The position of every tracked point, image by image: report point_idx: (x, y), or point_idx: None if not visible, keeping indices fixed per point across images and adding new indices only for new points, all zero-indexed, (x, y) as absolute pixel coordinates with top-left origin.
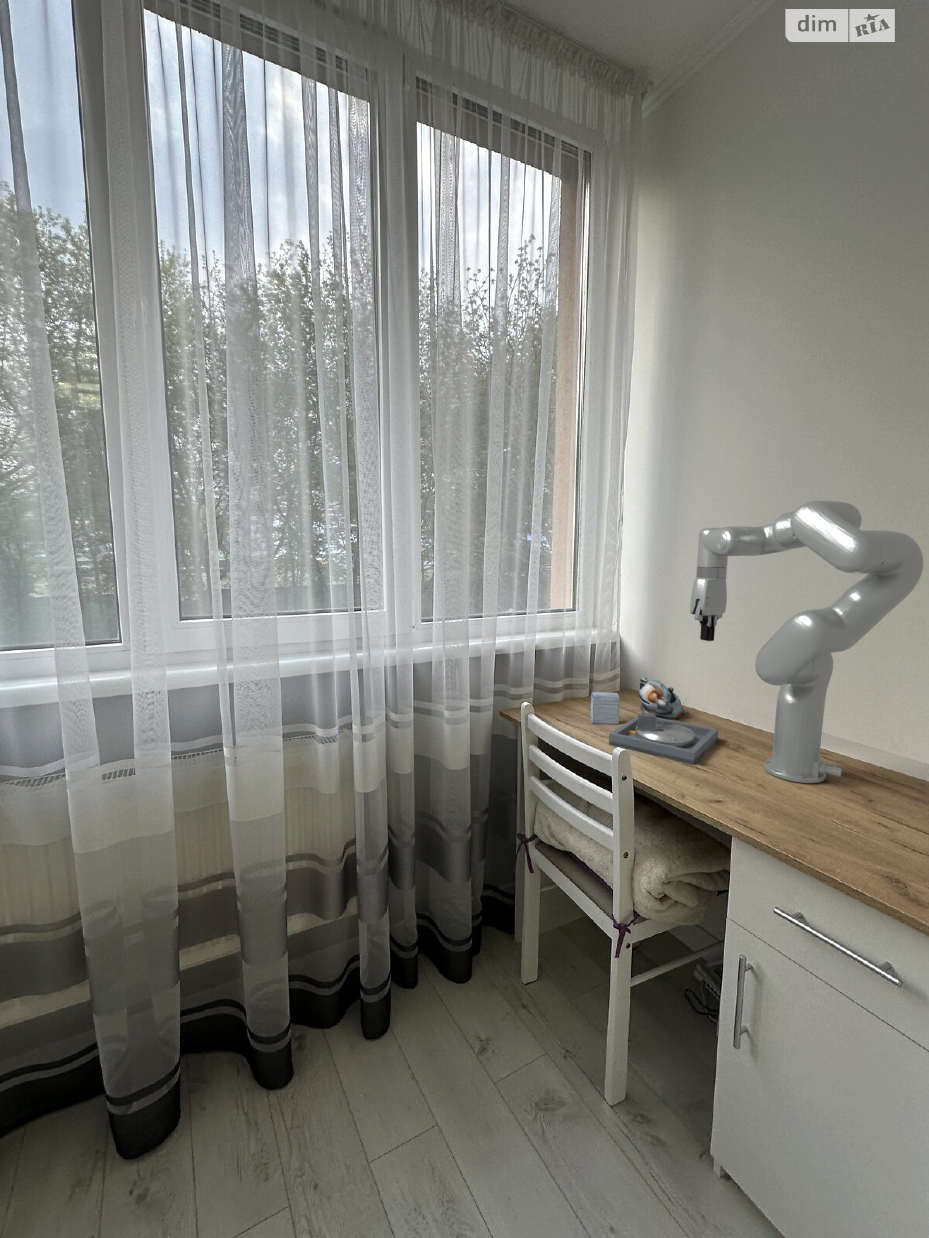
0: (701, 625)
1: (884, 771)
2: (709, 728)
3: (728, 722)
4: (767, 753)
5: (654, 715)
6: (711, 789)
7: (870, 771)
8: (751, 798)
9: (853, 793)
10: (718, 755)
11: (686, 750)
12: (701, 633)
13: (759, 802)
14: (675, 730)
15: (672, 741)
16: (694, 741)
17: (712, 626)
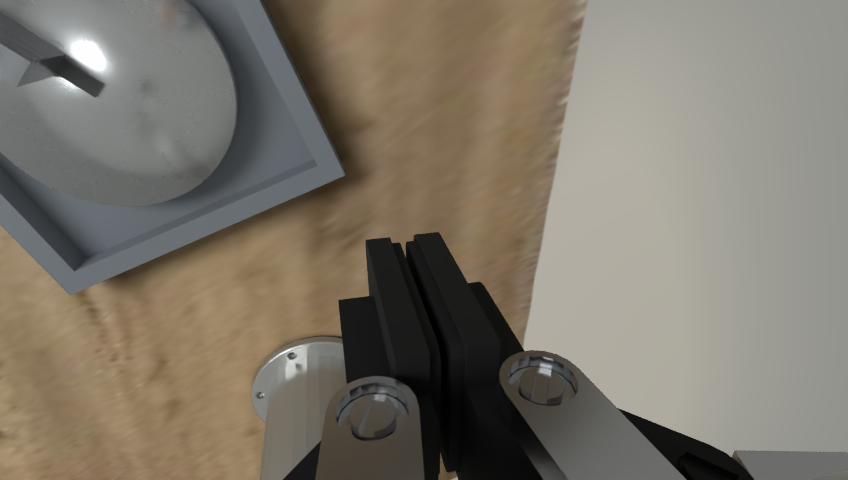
0: (343, 410)
1: None
2: (324, 153)
3: (545, 55)
4: None
5: (18, 67)
6: (19, 391)
7: None
8: (91, 441)
9: None
10: (229, 252)
11: (55, 270)
12: (378, 287)
13: (95, 455)
14: (157, 115)
15: (61, 190)
16: (220, 164)
17: (461, 473)
